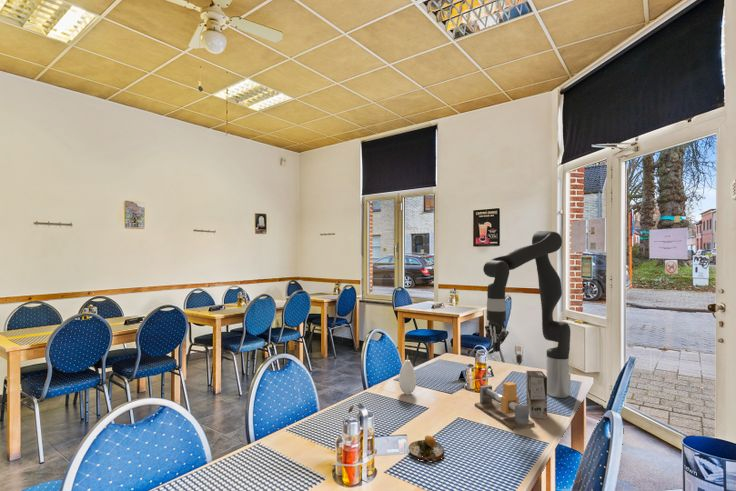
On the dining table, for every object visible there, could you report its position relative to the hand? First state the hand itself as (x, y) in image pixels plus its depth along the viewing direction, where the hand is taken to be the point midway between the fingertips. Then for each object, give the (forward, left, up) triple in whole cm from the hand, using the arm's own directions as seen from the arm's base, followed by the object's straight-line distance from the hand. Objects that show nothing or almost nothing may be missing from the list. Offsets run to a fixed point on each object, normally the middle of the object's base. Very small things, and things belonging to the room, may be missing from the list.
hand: (496, 351), depth 168 cm
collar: (0, +8, -22) cm, 23 cm away
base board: (0, +4, -25) cm, 25 cm away
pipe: (0, +4, -25) cm, 25 cm away
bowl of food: (+43, +20, -25) cm, 54 cm away
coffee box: (-14, +8, -25) cm, 29 cm away
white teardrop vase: (+26, -30, -25) cm, 47 cm away
